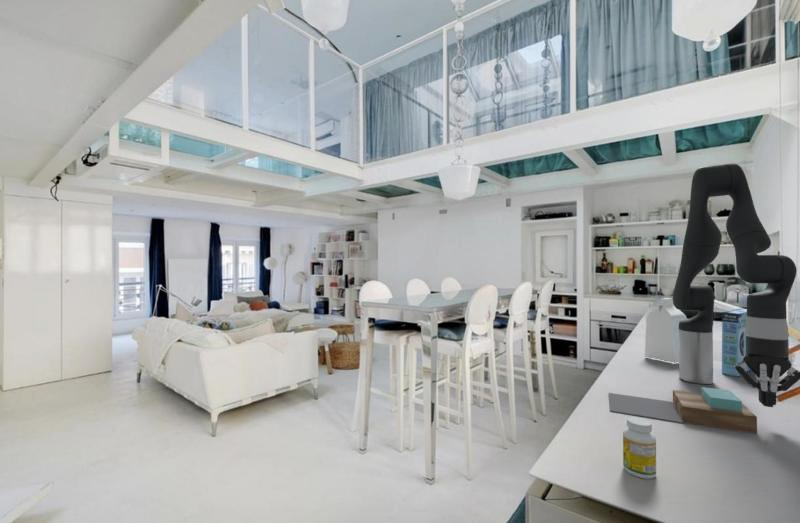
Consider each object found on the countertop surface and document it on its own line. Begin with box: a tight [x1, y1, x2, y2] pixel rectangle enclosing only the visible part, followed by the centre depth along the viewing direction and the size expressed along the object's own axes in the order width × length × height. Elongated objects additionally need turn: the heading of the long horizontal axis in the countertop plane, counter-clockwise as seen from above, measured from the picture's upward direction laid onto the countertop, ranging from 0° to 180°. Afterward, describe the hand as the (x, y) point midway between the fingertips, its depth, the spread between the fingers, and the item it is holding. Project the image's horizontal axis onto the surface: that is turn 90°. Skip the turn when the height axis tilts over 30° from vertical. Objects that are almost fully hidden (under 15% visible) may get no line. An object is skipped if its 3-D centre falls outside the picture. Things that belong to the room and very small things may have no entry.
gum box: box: [721, 308, 751, 377], centre depth 139 cm, size 20×5×23 cm, turn 123°
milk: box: [644, 297, 688, 363], centre depth 156 cm, size 12×12×26 cm
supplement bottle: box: [622, 416, 657, 480], centre depth 71 cm, size 5×5×10 cm
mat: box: [608, 392, 685, 424], centre depth 103 cm, size 16×16×1 cm
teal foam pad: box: [700, 386, 743, 412], centre depth 95 cm, size 9×6×2 cm, turn 152°
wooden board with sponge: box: [672, 389, 758, 435], centre depth 96 cm, size 14×14×4 cm
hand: (767, 405), depth 91 cm, fingers closed
